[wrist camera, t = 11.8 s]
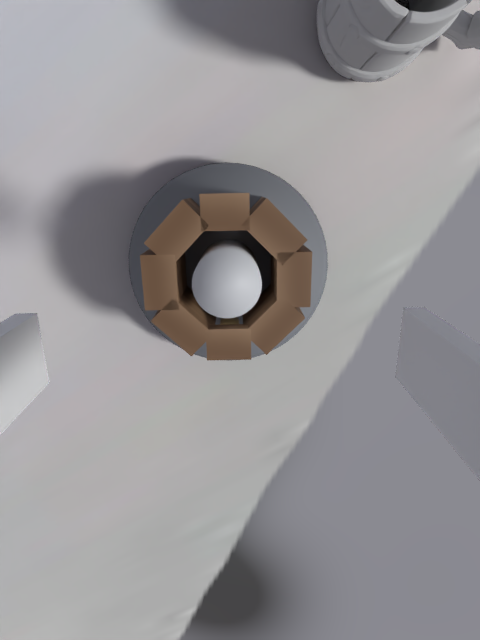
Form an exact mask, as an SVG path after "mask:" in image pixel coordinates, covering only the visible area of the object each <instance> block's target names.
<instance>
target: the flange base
mask: <svg viewBox="0 0 480 640" xmlns="http://www.w3.org/2000/svg"><path fill="white" fill-rule="evenodd" d="M212 193H249V201H250V209H251V208H252V207H253V206H254V205H255V203H256V202H257V201H258V200H259V199H260V198H261V197H265V198H267V199H268V200H269V201H270V202H271V203H272V204H273V205H274V206H275V207H276V208H277V209H278V210H279V211H280V212H281V213H282V214H283V215H284V216H285V217H286V218H287V219H288V220H289V221H290V222H291V223H292V224H293V225H294V226H295V227H296V228H297V229H298V230H299V231H300V232H301V233H302V235H303V236H304V237H305V238H306V239H307V241H306V242H305V243H304V244H303V245H305V246H306V247H307V248H308V249H309V250H311V251H312V276H311V305H310V307H300V309H301V311H302V313H303V315H304V317H305V319H304V320H303V321H302V322H301V323H300V324H299V325H298V326H297V327H295V328H294V329H293V330H292V331H291V332H290V333H289V334H288V335H287V336H286V337H285V338H284V339H283V340H282V341H281V342H280V343H279V344H278V345H276V346H275V347H274V348H273V349H272V350H274V349H276V348H278V347H279V346H281V345H283V344H284V343H286V342H287V341H289V340H290V339H291V338H292V337H293V336H295V335H296V334H297V333H298V332H299V331H300V330H301V329H302V328H303V327H304V325H305V324H306V323H307V322H308V320H309V319H310V317H311V316H312V315H313V313H314V311H315V309H316V307H317V306H318V304H319V301H320V299H321V296H322V294H323V290H324V286H325V282H326V276H327V268H328V262H327V248H326V242H325V238H324V235H323V231H322V228H321V226H320V224H319V221H318V219H317V217H316V215H315V213H314V212H313V210H312V208H311V207H310V205H309V204H308V203H307V202H306V200H305V199H304V198H303V197H302V195H301V194H300V193H299V192H298V191H296V190H295V189H294V188H293V187H292V186H291V185H290V184H288V183H287V182H285V181H284V180H283V179H281V178H280V177H278V176H276V175H274V174H272V173H270V172H268V171H266V170H263V169H260V168H257V167H254V166H250V165H245V164H239V163H218V164H210V165H205V166H201V167H197V168H195V169H192V170H190V171H187V172H185V173H183V174H181V175H179V176H178V177H176V178H174V179H172V180H171V181H170V182H168V183H167V184H166V185H164V186H163V187H162V188H161V189H160V190H159V191H158V192H157V193H156V194H155V195H154V196H153V197H152V198H151V200H150V201H149V202H148V204H147V205H146V206H145V208H144V209H143V211H142V213H141V215H140V217H139V218H138V221H137V223H136V226H135V228H134V231H133V235H132V239H131V243H130V251H129V272H130V278H131V284H132V287H133V290H134V294H135V296H136V299H137V301H138V303H139V305H140V307H141V309H142V311H143V312H144V314H145V316H146V317H147V319H148V320H149V321H150V322H151V320H152V318H153V317H154V315H155V314H156V312H157V311H158V310H145V306H144V295H143V284H142V273H141V262H140V255H141V254H142V253H144V252H145V251H147V250H148V249H150V248H149V247H147V246H146V245H145V244H144V242H145V241H146V240H147V239H148V238H149V237H150V235H151V234H152V233H153V232H154V231H155V230H156V229H157V228H158V226H159V225H160V224H161V223H162V222H163V221H164V220H165V219H166V217H167V216H168V215H169V214H170V213H171V212H172V211H173V209H174V208H175V207H176V206H177V205H178V204H179V203H180V202H181V200H183V199H188V198H192V199H193V200H194V201H195V202H196V203H197V204H198V205H199V206H200V197H199V194H212ZM185 259H186V276H187V286H188V287H189V288H190V289H191V290H192V291H193V294H194V297H195V299H196V301H197V302H198V304H199V305H200V306H201V307H202V308H203V309H204V310H205V311H206V312H208V313H209V314H211V315H213V316H216V322H215V325H224V324H243V317H242V315H243V314H245V313H246V312H248V311H249V310H250V309H252V307H253V306H254V305H255V304H256V302H257V301H258V299H259V297H260V294H261V293H262V292H263V291H264V290H265V289H266V288H267V287H268V286H269V285H270V284H271V254H270V253H269V252H268V251H267V250H266V249H265V248H264V247H263V246H262V245H261V244H260V243H259V242H258V241H257V240H256V239H255V238H254V237H253V236H252V235H251V234H250V233H249V232H248V231H247V230H239V231H204V232H203V233H202V234H201V235H200V236H199V237H198V238H197V239H196V240H195V241H194V243H193V244H192V245H191V246H190V247H189V248H188V249H187V250H186V251H185ZM151 324H152V325H153V326H154V327H155V328H156V329H157V330H158V331H159V332H160V333H161V334H162V335H163V336H164V337H165V338H167V339H168V340H169V341H171V342H172V343H173V344H175V345H177V346H178V347H180V346H179V345H178V344H177V343H175V342H174V341H173V340H172V339H171V338H170V337H168V336H167V335H166V334H165V333H164V332H163V331H161V330H160V329H159V328H158V327H157V326H156V325H154V324H153V323H152V322H151ZM180 348H181V347H180ZM183 350H184V349H183ZM272 350H271V351H272ZM194 354H195V355H198V356H202V357H205V358H207V347H206V342H205V343H204V344H203V345H202V346H201V347H200V348H199V349H198V350H197V351H196V352H195V353H194ZM262 354H265V353H264V352H263V351H262V350H261V349H260V348H259V347H258V346H256V345H255V344H254V343H253V342H252V341H251V358H252V357H256V356H259V355H262Z"/></svg>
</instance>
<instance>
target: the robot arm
mask: <svg viewBox="0 0 480 640" xmlns="http://www.w3.org/2000/svg"><path fill="white" fill-rule="evenodd" d="M395 377H396V378H397V380H398V381H399V382H400V383H401V384H402V386H403V387H404V388H405V390H406V391H407V392H408V393H409V394H410V396H411V397H412V398H413V399H414V401H415V402H416V403H417V404H418V405H419V407H420V408H421V409H422V410H423V412H424V413H425V414H426V415H427V417H428V418H429V419H430V420H431V422H432V423H433V424H434V425H435V426H436V428H437V429H438V430H439V431H440V433H441V434H442V435H443V436H444V438H445V439H446V440H447V441H448V442H449V444H450V445H451V446H452V447H453V449H454V450H455V451H456V452H457V454H458V455H459V456H460V457H461V459H462V460H463V461H464V462H465V463H466V465H467V466H468V467H469V468H470V469H471V471H472V472H473V473H474V475H475V476H476V477H477V478H478V479H479V481H480V343H478V342H477V341H475V340H474V339H472V338H471V337H469V336H468V335H466V334H465V333H463V332H462V331H460V330H459V329H457V328H456V327H454V326H452V325H451V324H450V323H448V322H446V321H445V320H443V319H442V318H440V317H439V316H437V315H436V314H435V313H433V312H431V311H430V310H428V309H427V308H425V307H404V308H403V316H402V323H401V333H400V341H399V349H398V358H397V366H396V375H395ZM49 383H50V382H49V377H48V371H47V366H46V360H45V355H44V349H43V344H42V338H41V333H40V327H39V322H38V316H37V313H25V314H14V315H12V316H11V317H9V318H7V319H6V320H4V321H2V322H1V323H0V435H1V434H2V433H3V432H4V430H5V429H6V428H7V427H8V426H9V425H10V424H11V423H12V422H13V421H14V420H15V419H16V418H17V417H18V416H19V414H20V413H21V412H22V411H23V410H24V409H25V408H26V407H27V406H28V405H29V404H30V403H31V402H32V401H33V400H34V399H35V397H36V396H37V395H38V394H39V393H40V392H41V391H42V390H43V389H44V388H45V387H46V386H47V385H48V384H49Z"/></svg>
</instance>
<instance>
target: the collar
mask: <svg viewBox="0 0 480 640" xmlns="http://www.w3.org/2000/svg"><path fill="white" fill-rule="evenodd" d="M199 197H200V206H199V205H198V204H197V203H196V202H195V201H194V200H193V199H192V198H188V199H183V200H181V202H180V203H179V204H178V205H177V206H176V207H175V208H174V209H173V211H172V212H171V213H170V214H169V215H168V216H167V217H166V219H165V220H164V221H163V222H162V223H161V224H160V225H159V226H158V228H157V229H156V230H155V231H154V232H153V233H152V234H151V235H150V237H149V238H148V239H147V240H146V241H145V242H144V244H145V245H146V246H147V247H149V248H150V249H148V250H147V251H145V252H144V253H142V254H141V255H140V262H141V273H142V284H143V295H144V306H145V310H158V311H157V312H156V314H155V315H154V317H153V318H152V320H151V322H152V323H153V324H154V325H156V326H157V327H158V328H159V329H160V330H161V331H163V332H164V333H165V334H166V335H167V336H168V337H170V338H171V339H172V340H173V341H174V342H175V343H177V344H178V345H179V346H180V347H181V348H182V349H184V350H185V351H186V352H187V353H188V354H189V355H190V356H192V355H193V354H194V353H195V352H196V351H197V350H198V349H199V348H200V347H201V346H202V345H203V344H204V343H205V342H206V347H207V360H243V359H251V341H252V342H253V343H254V344H255V345H256V346H258V347H259V348H260V349H261V350H262V351H263V352H264V353H265V354H266V355H267V354H268V353H269V352H270V351H271V350H272V349H273V348H274V347H275V346H276V345H278V344H279V343H280V342H281V341H282V340H283V339H284V338H285V337H286V336H287V335H288V334H289V333H290V332H291V331H292V330H293V329H294V328H295V327H297V326H298V325H299V324H300V323H301V322H302V321H303V320H304V319H305V317H304V315H303V313H302V311H301V309H300V307H310V305H311V276H312V251H311V250H309V249H308V248H307V247H306V246H305V245H303V244H304V243H305V242H306V241H307V239H306V238H305V237H304V236H303V235H302V233H301V232H300V231H299V230H298V229H297V228H296V227H295V226H294V225H293V224H292V223H291V222H290V221H289V220H288V219H287V218H286V217H285V216H284V215H283V214H282V213H281V212H280V211H279V210H278V209H277V208H276V207H275V206H274V205H273V204H272V203H271V202H270V201H269V200H268V199H267V198H265V197H261V198H260V199H259V200H258V201H257V202H256V203H255V205H254V206H253V207H252V208H251V209H250V201H249V193H212V194H199ZM239 230H247V231H248V232H249V233H250V234H251V235H252V236H253V237H254V238H255V239H256V240H257V241H258V242H259V243H260V244H261V245H262V246H263V247H264V248H265V249H266V250H267V251H268V252H269V253H270V254H271V284H270V285H269V286H268V287H267V288H266V289H265V290H264V291H263V292H262V293H261V294H260V297H259V299H258V301H257V302H256V304H255V305H254V306H253V307H252V309H250V310H249V311H248V312H246V313H245V314H243V315H242V317H243V324H224V325H215V322H216V316H213V315H211V314H209V313H208V312H206V311H205V310H204V309H203V308H202V307H201V306H200V305H199V304H198V302H197V301H196V299H195V297H194V294H193V291H192V290H191V289H190V288H189V287H188V286H187V276H186V259H185V251H186V250H187V249H188V248H189V247H190V246H191V245H192V244H193V243H194V241H195V240H196V239H197V238H198V237H199V236H200V235H201V234H202V233H203V232H204V231H239Z"/></svg>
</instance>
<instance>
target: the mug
mask: <svg viewBox="0 0 480 640" xmlns="http://www.w3.org/2000/svg"><path fill="white" fill-rule="evenodd" d="M408 1H409V8H410V11H409V10H408V9H407V8H405V7H403V6H401V5H400V4H398V3H397V2H396V1H395V0H319V3H318V8H317V32H318V38H319V44H320V47H321V49H322V52H323V54H324V56H325V57H326V59H327V61H328V63H329V64H330V66H331V67H332V68H333V69H334V70H335V71H336V72H337V73H339V74H340V75H342V76H343V77H346V78H348V79H350V78H352V79H353V80H354V81H361V82H375V81H383V80H385V79H387V78H389V77H392V76H394V75H395V74H397V73H399V72H400V71H402V70H403V69H404V68H406V67H407V66H408V65H409V64H410V63H411V62H412V61H413V60H414V59H415V58H416V57H417V56H418V55H419V53H420V52H421V51H422V49H423V48H424V47H425V46H427V45H429V44H430V43H432V42H433V41H434V40H436V39H437V38H438V37H439V36H441V35H443V36H445V37H447V38H449V39H450V40H452V41H453V42H454V43H455V45H456V47H458V48H459V49H467V48H473V47H474V48H476V49H480V11H477V12H476V13H475V14H474V15H472V14H469V13H467V12H465V11H464V10H463V9H464V8H465V7H466V6H467V5H468V4H469V3H470V2H471V1H472V0H408Z"/></svg>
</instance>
